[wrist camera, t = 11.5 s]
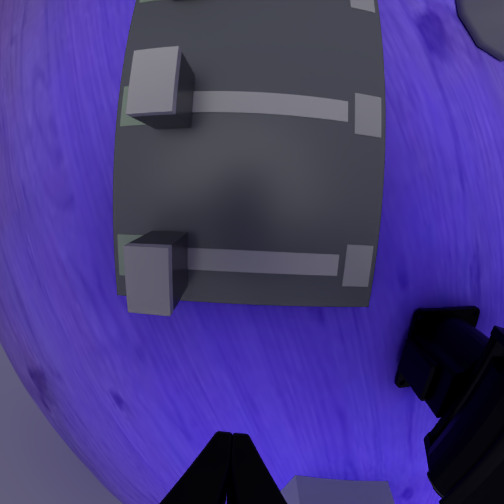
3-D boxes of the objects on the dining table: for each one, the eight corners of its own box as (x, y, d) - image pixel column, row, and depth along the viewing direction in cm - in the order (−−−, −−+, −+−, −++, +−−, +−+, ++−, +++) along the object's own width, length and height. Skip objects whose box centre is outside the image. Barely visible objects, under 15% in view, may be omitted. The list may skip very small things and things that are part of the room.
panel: (366, -14, 14) (373, -25, 12) (360, 297, 19) (368, 307, 17) (151, -24, 14) (145, -35, 12) (126, 286, 19) (116, 295, 17)
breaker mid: (194, 75, 14) (178, 45, 10) (190, 127, 15) (171, 111, 11) (159, 77, 14) (133, 50, 10) (154, 128, 15) (125, 114, 11)
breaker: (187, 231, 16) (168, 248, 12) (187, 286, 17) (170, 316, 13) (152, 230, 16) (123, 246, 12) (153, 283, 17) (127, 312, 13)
